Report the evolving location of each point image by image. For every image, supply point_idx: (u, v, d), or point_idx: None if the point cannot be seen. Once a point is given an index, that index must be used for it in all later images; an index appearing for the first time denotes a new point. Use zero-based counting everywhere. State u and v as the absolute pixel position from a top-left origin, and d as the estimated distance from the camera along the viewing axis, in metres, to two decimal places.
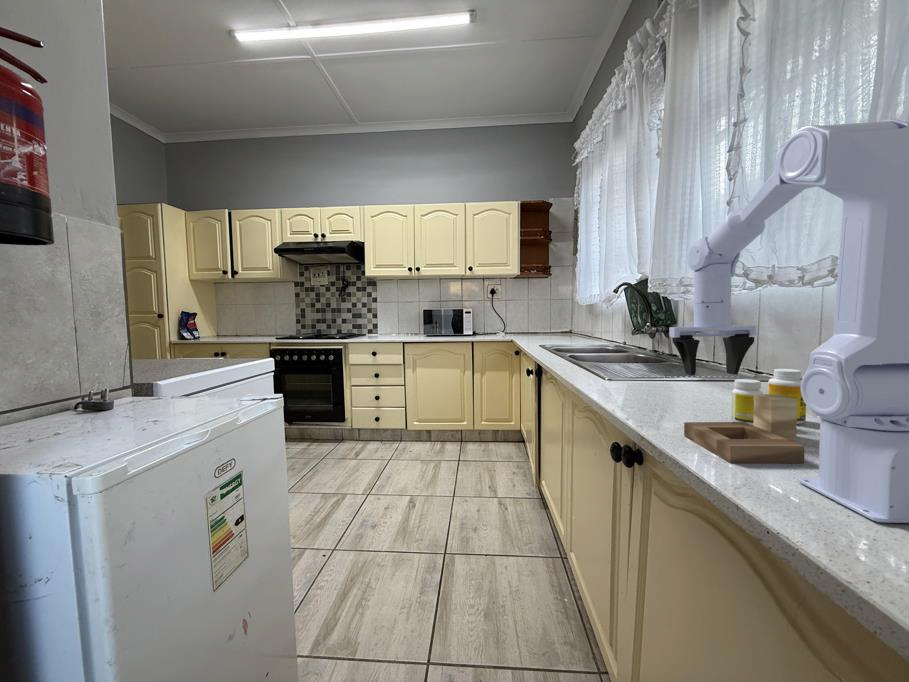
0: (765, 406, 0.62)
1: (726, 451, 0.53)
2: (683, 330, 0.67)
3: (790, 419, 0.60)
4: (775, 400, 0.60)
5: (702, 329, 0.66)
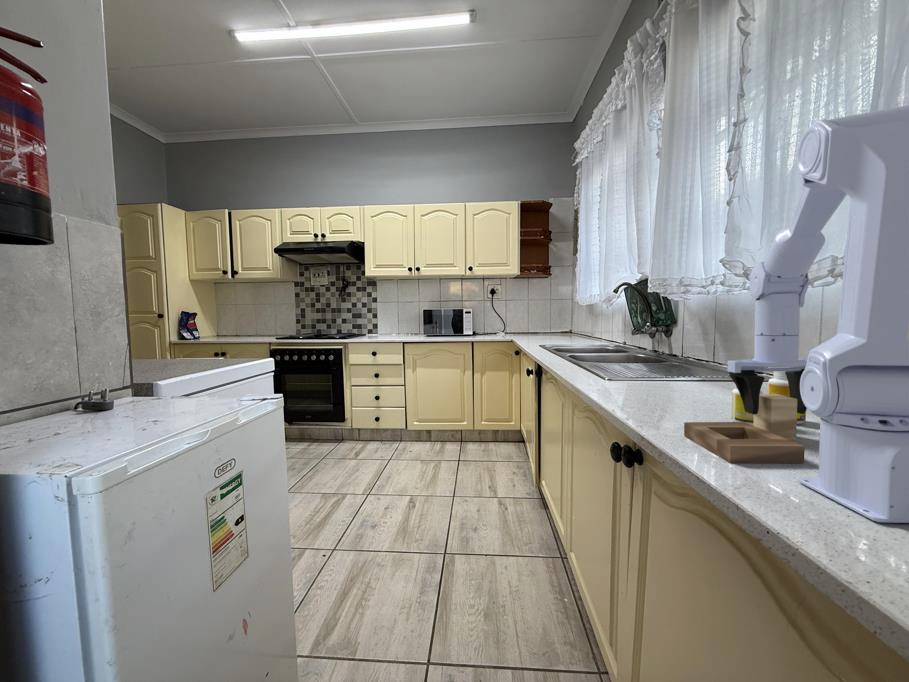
0: (765, 406, 0.62)
1: (726, 451, 0.53)
2: (745, 365, 0.61)
3: (790, 419, 0.60)
4: (775, 400, 0.60)
5: (767, 365, 0.60)
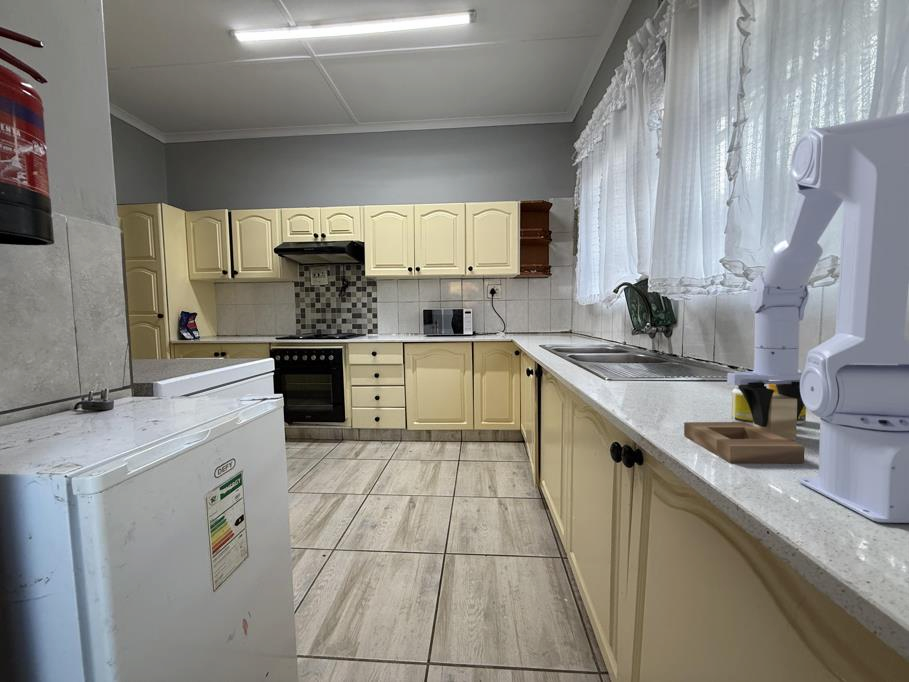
0: None
1: (726, 451, 0.53)
2: (744, 378, 0.61)
3: (790, 419, 0.60)
4: (775, 400, 0.60)
5: (767, 377, 0.60)
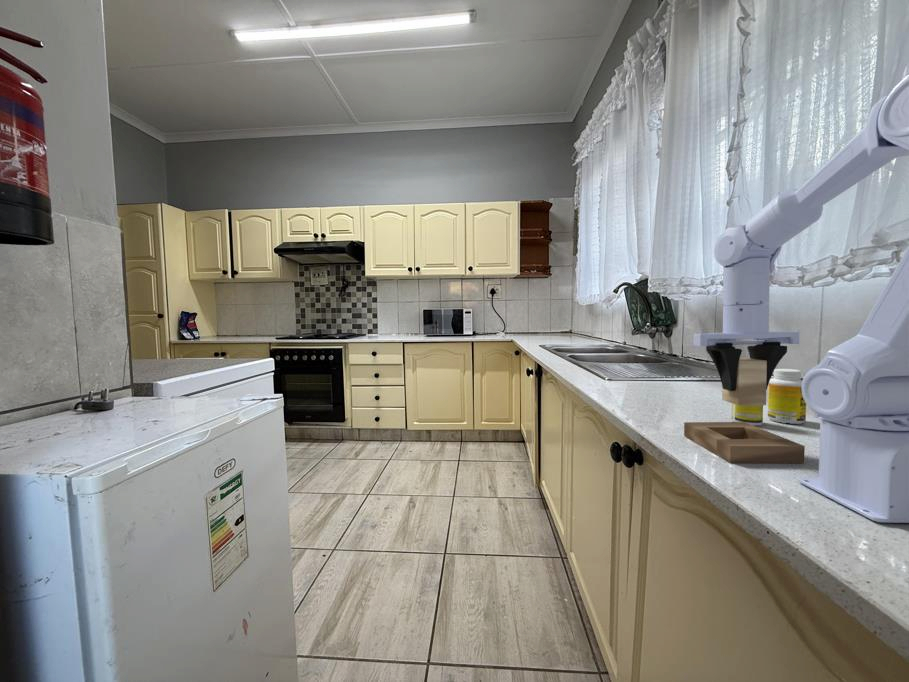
0: None
1: (726, 451, 0.53)
2: (711, 337, 0.56)
3: (759, 382, 0.56)
4: (743, 362, 0.56)
5: (734, 336, 0.55)
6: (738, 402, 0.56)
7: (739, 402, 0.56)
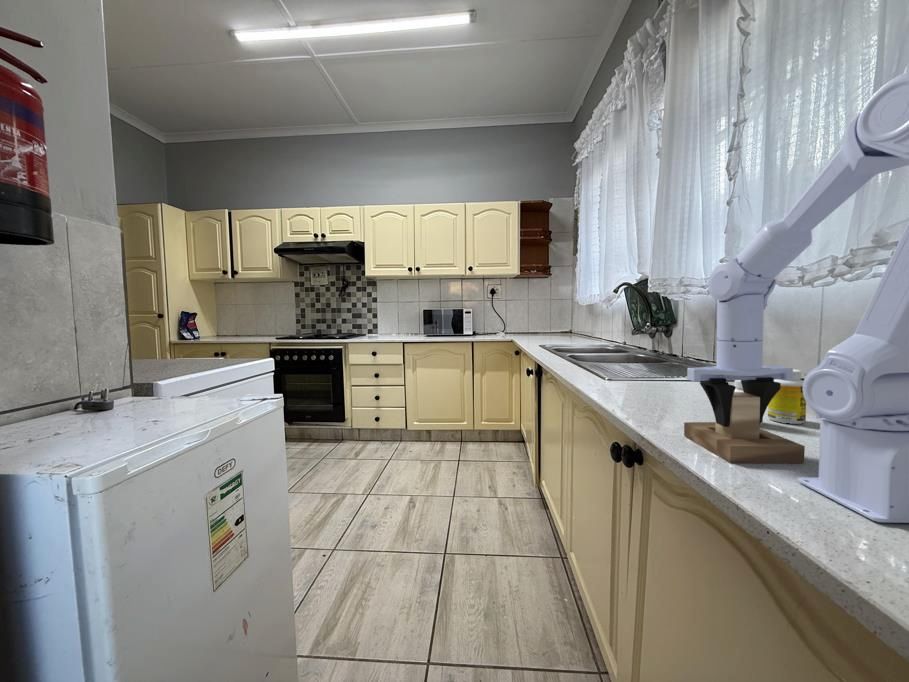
0: None
1: (726, 451, 0.53)
2: (705, 373, 0.56)
3: (752, 419, 0.55)
4: (736, 398, 0.55)
5: (728, 373, 0.55)
6: (732, 438, 0.56)
7: (732, 438, 0.56)
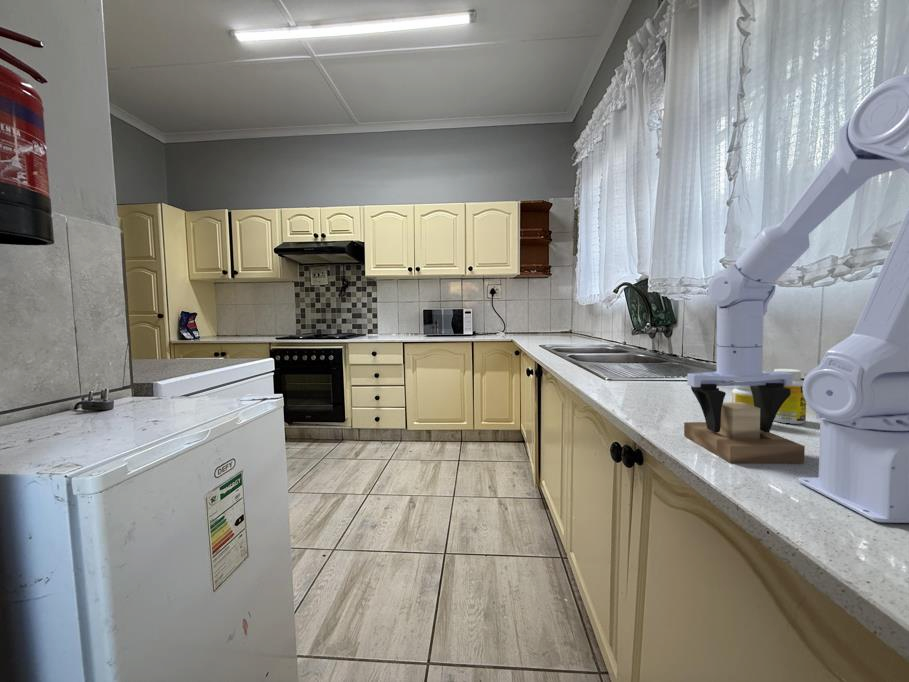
0: (726, 416, 0.57)
1: (726, 451, 0.53)
2: (705, 379, 0.56)
3: (753, 430, 0.55)
4: (736, 409, 0.55)
5: (728, 379, 0.55)
6: None
7: None
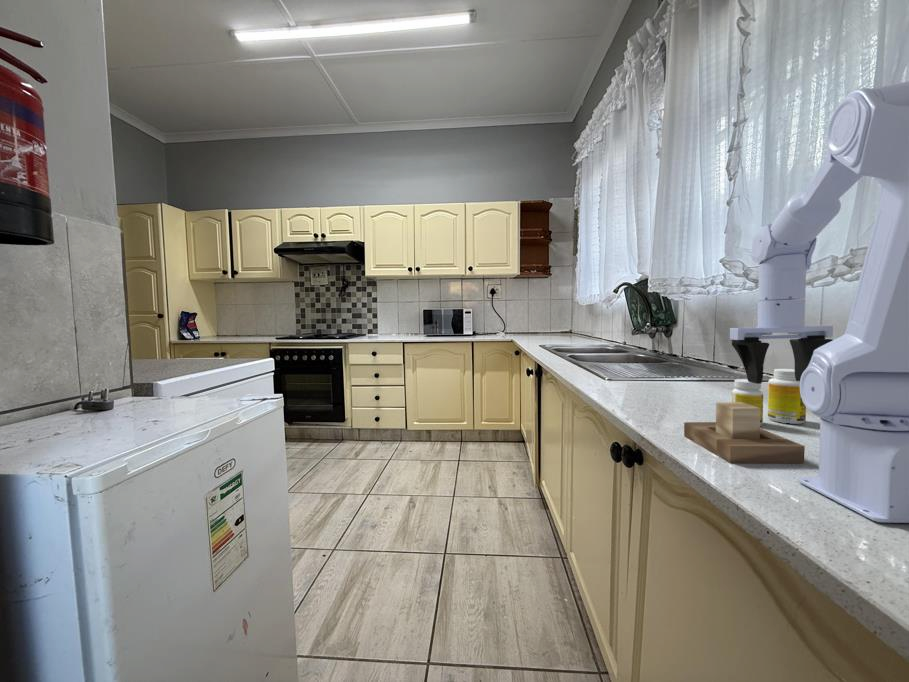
0: (726, 416, 0.57)
1: (726, 451, 0.53)
2: (748, 331, 0.58)
3: (753, 430, 0.55)
4: (736, 409, 0.55)
5: (772, 330, 0.57)
6: None
7: None
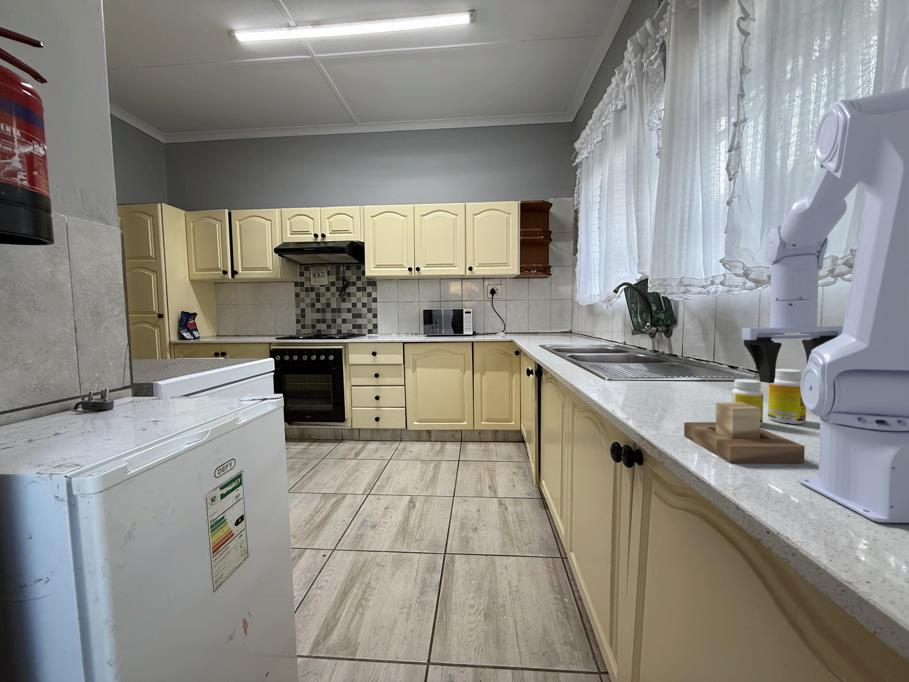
0: (726, 416, 0.57)
1: (726, 451, 0.53)
2: (761, 331, 0.59)
3: (753, 430, 0.55)
4: (736, 409, 0.55)
5: (784, 330, 0.57)
6: None
7: None
